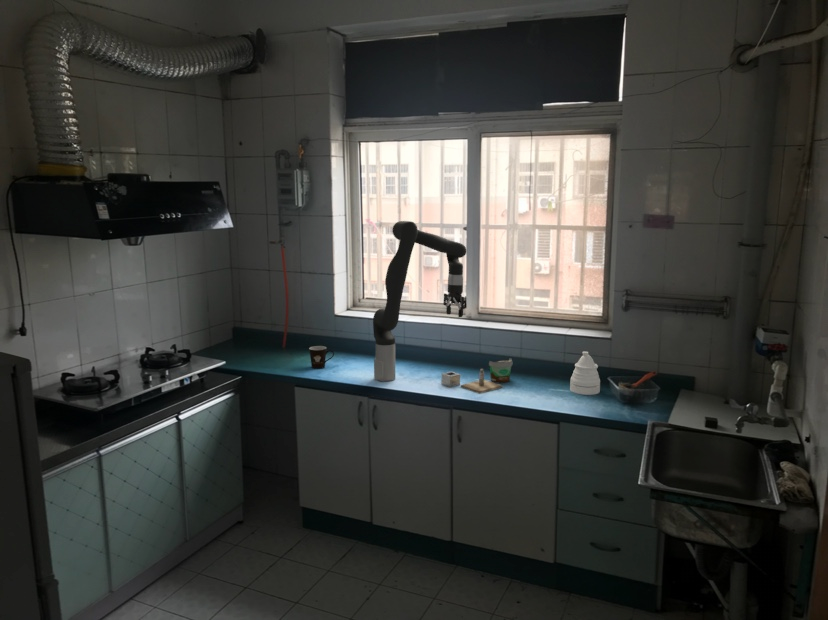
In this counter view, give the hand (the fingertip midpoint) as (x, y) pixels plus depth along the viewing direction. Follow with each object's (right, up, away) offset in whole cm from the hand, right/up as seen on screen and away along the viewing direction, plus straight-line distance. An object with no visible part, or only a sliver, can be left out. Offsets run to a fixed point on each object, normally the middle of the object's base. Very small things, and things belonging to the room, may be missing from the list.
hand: (454, 315), depth 323 cm
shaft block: (+10, -32, -30) cm, 45 cm away
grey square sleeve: (-3, -31, -25) cm, 41 cm away
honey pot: (+56, -33, -34) cm, 74 cm away
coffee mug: (-67, -26, +2) cm, 72 cm away
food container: (+21, -31, -21) cm, 43 cm away
